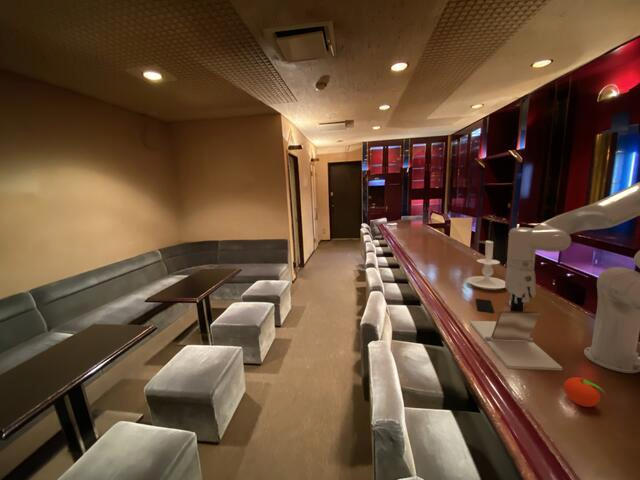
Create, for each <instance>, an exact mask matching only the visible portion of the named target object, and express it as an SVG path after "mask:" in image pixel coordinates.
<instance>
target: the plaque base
mask: <svg viewBox="0 0 640 480" xmlns="http://www.w3.org/2000/svg"><path fill="white" fill-rule="evenodd" d="M496 322H497V320H496V321H494V320H492V321H491V320H490V321H489V320H488V321H487V320H486V321H485V320H484V321H482V320H469V325H471V326H472V328H473V329H474V330H475V331H476V333H477V334H478V335H479V336H480V337H481V339H482V340H483V339H484V340H485V341H484V340H483V341H484V342H485V343H486V345H487V346H488V345H489V346H488V348H490V349H491V350H492V352H493V351H494V352H495V353H494V352H493V353H494V354H495V355H496V357H497V358H498V357H499V358H498V359H499V360H500V361H501V363H502V364H503V365H504V366H505V367H506V368H507V369H512V370H513V369H514V370H516V369H519V370H534V371H535V370H539V371H540V370H541V371H558V372H559V371H563V367H562V366H561V365H560V364H559V363H557V361H556V360H554V358H552V357H551V356H550V355H549V354H547V353H546V352H545V350H543V349H542V348H541V347H540V346H538V345H537V344H536V343H535V342H534V338H533V337H529V339H528V341H526V340H493V339H492V338H491V336H492V333H493V331H494V328H495V325H496Z"/></svg>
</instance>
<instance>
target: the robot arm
mask: <svg viewBox="0 0 640 480" xmlns="http://www.w3.org/2000/svg"><path fill="white" fill-rule="evenodd" d="M639 216H640V181H639V182H636V183H635V184H632V185H630V186H627V187H626V188H624V189H621V190H619V191H617V192H615V193H613V194H610V195H609V196H607V197H604V198H602V199H599V200H598V201H596V202H594V203H591V204H588V205H585V206H582V207H579V208H575V209H573V210H571V211H568V212H564V213H561V214H558V215H556V216H554V217H552V218H550V219H547V220H545V221H543V222H541V223H539V224H537V225H535V226H534V227H533V228H532V227H522V226H521V227H513V228H511V229H510V230H509V233H508V246H507V258H506V259H507V261H506V271H505V272H506V273H505V280H504V281H505V289H506V290H507V292H508V293H509V300H510V299H511V306H510V310H509V311H524V307H523V305H524V306H525V304H528V303H530V298H531V299H535V297H536V273H535V263H536V251H544V252H552V253H554V252H562V251H565V250H566V249H568V248H569V247H570V246H571V244H572V238H571V235H570V234H574V233H578V232H583V231H590V230H602V229H608V228H612V227H615V226H619V225H620V224H623V223H625V222H627V221H629V220H632V219H634V218H636V217H639ZM633 263H634V264H635V265H636V266H637V268H639V269H640V250H638V251H637V252H636V253H635V255H634V257H633ZM596 288H597V290H596V291H597V308H596V313H595V320H594V327H593V332H592V333H593V335H592V340H591V346H588V347H586V348H584V351H583V355H584V356H585V357H586V358H587V359H588V360H589V361H590V362H592V363H594V364H596V365H597V366H600V367H603V368H604V369H605V368H606V369H608V370H611V371H615V372H620V373H623V374H624V373H625V374H636V373H639V372H640V356H639V352H638V351H637V347H638V342H639V335H640V272H638V271H636V270H633V269H630V268H626V267H619V266H617V267H616V266H615V267H609V268H606V269H605V270H603V271H602V272H601V273H600V274H599V276H598V277H597V280H596Z"/></svg>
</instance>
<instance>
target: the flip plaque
mask: <svg viewBox="0 0 640 480" xmlns="http://www.w3.org/2000/svg"><path fill="white" fill-rule="evenodd" d="M540 315H541V313H540V312H539V311H531V310H530V311H526V310H525V311H524V310H523V311H510V310H509V311H508V310H501V311H499V314H498V317H497V319H496V321H497V322H496V325H495V328H494V331H493V333H492V336H491V338H492V339H493V340H526V341H528V339H529V338H530V337H531V335H532V332H533V331H534V328H535V326H536V324H537V321H538V319H539V318H540Z"/></svg>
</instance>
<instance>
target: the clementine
mask: <svg viewBox="0 0 640 480" xmlns="http://www.w3.org/2000/svg"><path fill="white" fill-rule="evenodd" d="M563 390H564V392H565V394H566V396H567V397H568V398H569V400H570V401H572V402H573V403H575V404H577V405H579V406H582V407H587V408H591V407H596V405H598V403H600V400H601V395H600V394H601V393H600V392H599V390H601V391H602V392H603V393H604V395H605V397H607V394H606V393H605V391H604V389H602V388H601V387H600V386H598V385H597V384H595V383H593V382H591V381H589V380H587V379H586V378H583V377H576V376H575V377H570V378H567V379H566V380H565V382H564V384H563Z"/></svg>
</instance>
